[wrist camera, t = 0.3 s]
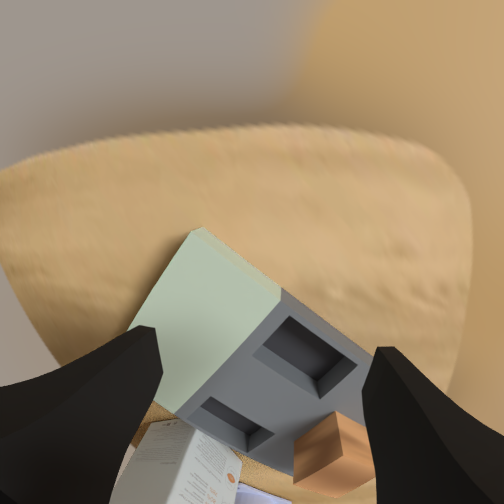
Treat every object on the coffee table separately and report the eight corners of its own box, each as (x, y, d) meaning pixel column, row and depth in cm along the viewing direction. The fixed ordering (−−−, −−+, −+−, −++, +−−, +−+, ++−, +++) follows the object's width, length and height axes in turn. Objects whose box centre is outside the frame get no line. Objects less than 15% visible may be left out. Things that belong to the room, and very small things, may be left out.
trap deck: (307, 464, 22) (308, 482, 20) (122, 349, 21) (107, 364, 19) (411, 384, 19) (420, 402, 17) (203, 226, 19) (190, 231, 16)
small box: (150, 421, 23) (92, 518, 10) (203, 412, 22) (154, 533, 9) (193, 468, 24) (159, 559, 11) (244, 462, 23) (222, 568, 10)
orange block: (332, 458, 19) (336, 498, 14) (293, 441, 19) (293, 484, 14) (372, 430, 18) (384, 471, 13) (335, 410, 18) (343, 455, 13)
